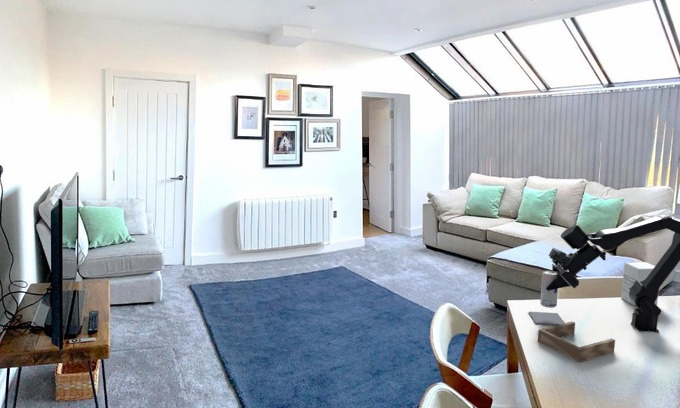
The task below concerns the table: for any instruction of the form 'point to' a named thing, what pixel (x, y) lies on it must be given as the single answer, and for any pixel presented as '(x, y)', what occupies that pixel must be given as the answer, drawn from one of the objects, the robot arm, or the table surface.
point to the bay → (579, 354)
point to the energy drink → (547, 296)
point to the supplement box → (634, 277)
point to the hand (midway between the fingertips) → (545, 287)
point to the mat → (546, 318)
